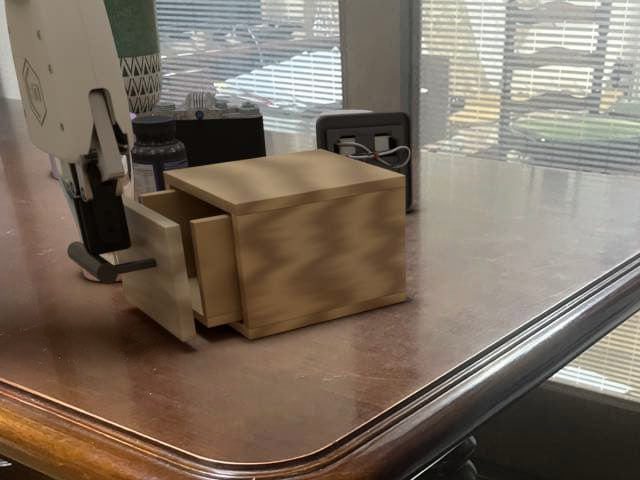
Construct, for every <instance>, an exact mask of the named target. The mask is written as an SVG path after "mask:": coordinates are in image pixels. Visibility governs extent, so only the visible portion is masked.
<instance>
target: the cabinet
mask: <svg viewBox="0 0 640 480" xmlns="http://www.w3.org/2000/svg"><path fill="white" fill-rule="evenodd" d="M163 173H164V180H165V186H166V190H171V189H180V190H182V191H184V192H186V193H189V194H191V195H193V196H195V197H197V198H199V199H201V200H203V201H205V202H208V203H210V204H212V205H214V206H216V207H218V208H220V209H222V210H224V211H227V212H229V213H231V214H232V223H233V232H234V240H235V249H236V257H237V266H238V275H239V283H240V292H241V300H242V309H243V318H244V319H242V320H238V321H234V322H230V323H226V324H225V325H227V326H229V327H230V328H232V329H234V330H235V331H237V333H239V334H241V335H242V336H244V337H245V338H247V339H248V340H250V341H253V340H257V339H260V338H264V337H268V336H271V335H275V334H279V333H284V332H289V331H291V330H296V329H299V328H303V327H307V326H311V325H315V324H319V323H323V322H327V321H332V320H334V319H338V318H343V317H347V316H351V315H355V314H358V313H363V312H367V311H372V310H374V309H379V308H383V307H387V306H390V305H395V304H398V303H399V304H400V303H402V302H406V301H407V247H406V246H407V245H406V244H407V241H406V240H407V238H406V237H407V231H406V230H407V229H406V227H407V226H406V223H407V222H406V221H407V219H406V212H405V175H402V174H399V173H396V172H393V171H390V170H387V169H383V168H380V167H377V166H374V165H371V164H367V163H364V162H361V161H358V160H355V159H352V158H348V157H345V156H342V155H339V154H336V153H332V152H329V151H326V150H323V149H317V148H316V149H311V150H303V151H296V152H288V153H283V154H275V155H268V156H266V157H261V158H254V159H247V160H240V161H233V162H226V163H219V164H212V165H205V166H198V167H191V168H184V169H177V170H170V171H164V172H163Z"/></svg>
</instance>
